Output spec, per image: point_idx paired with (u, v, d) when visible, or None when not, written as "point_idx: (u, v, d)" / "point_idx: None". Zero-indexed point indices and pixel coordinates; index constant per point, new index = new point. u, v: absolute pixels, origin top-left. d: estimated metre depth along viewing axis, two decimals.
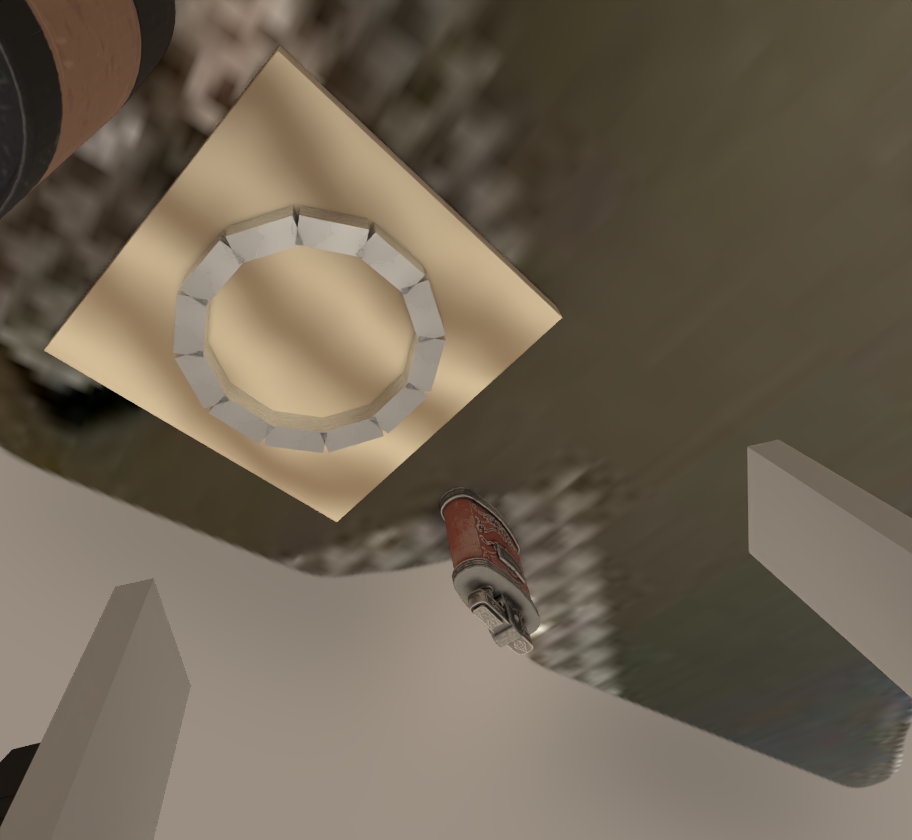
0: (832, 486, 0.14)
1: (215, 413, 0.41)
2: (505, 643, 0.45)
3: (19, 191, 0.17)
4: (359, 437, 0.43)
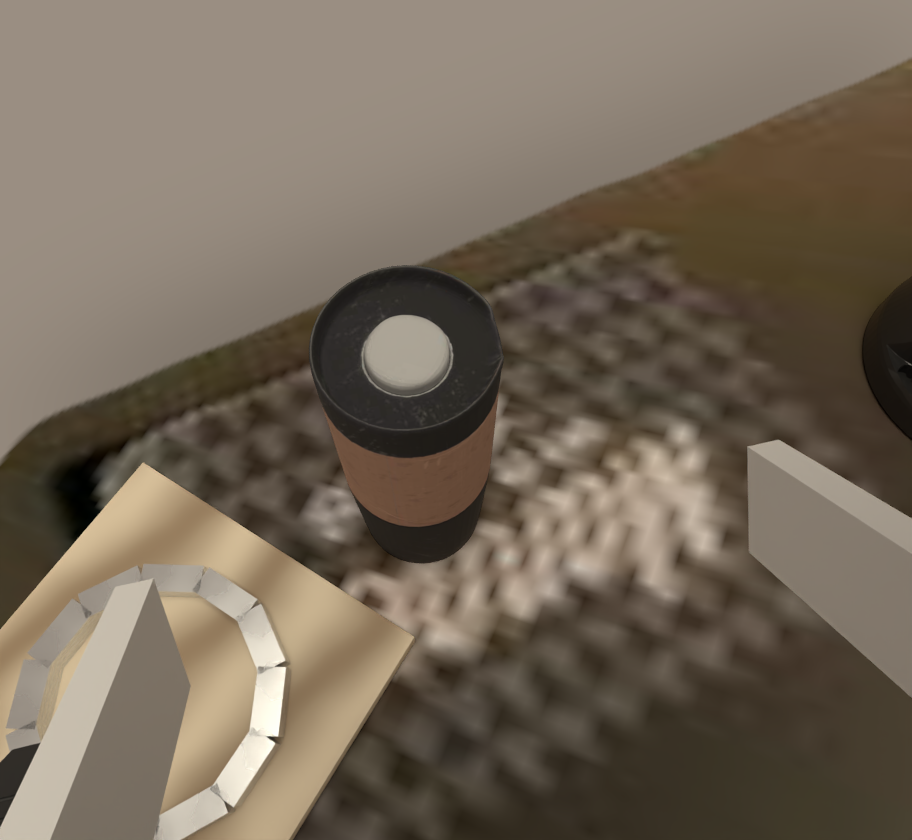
0: (832, 486, 0.14)
1: (70, 605, 0.40)
2: None
3: (358, 424, 0.27)
4: None
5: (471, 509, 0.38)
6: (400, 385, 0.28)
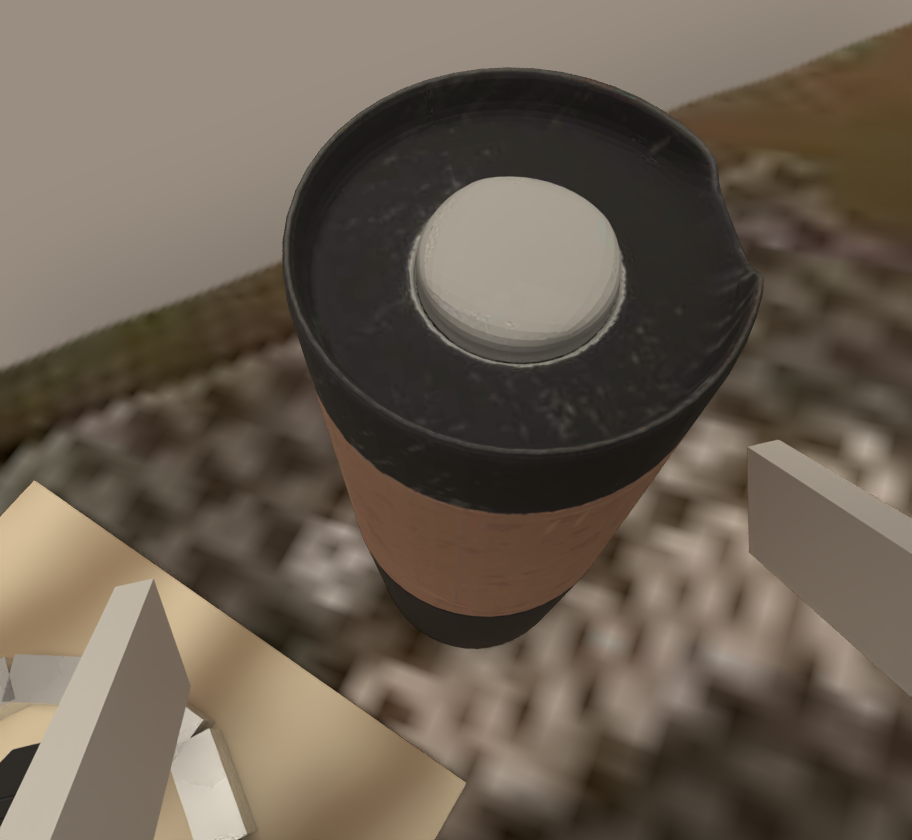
0: (832, 486, 0.14)
1: None
2: None
3: (407, 435, 0.10)
4: None
5: None
6: (509, 336, 0.11)
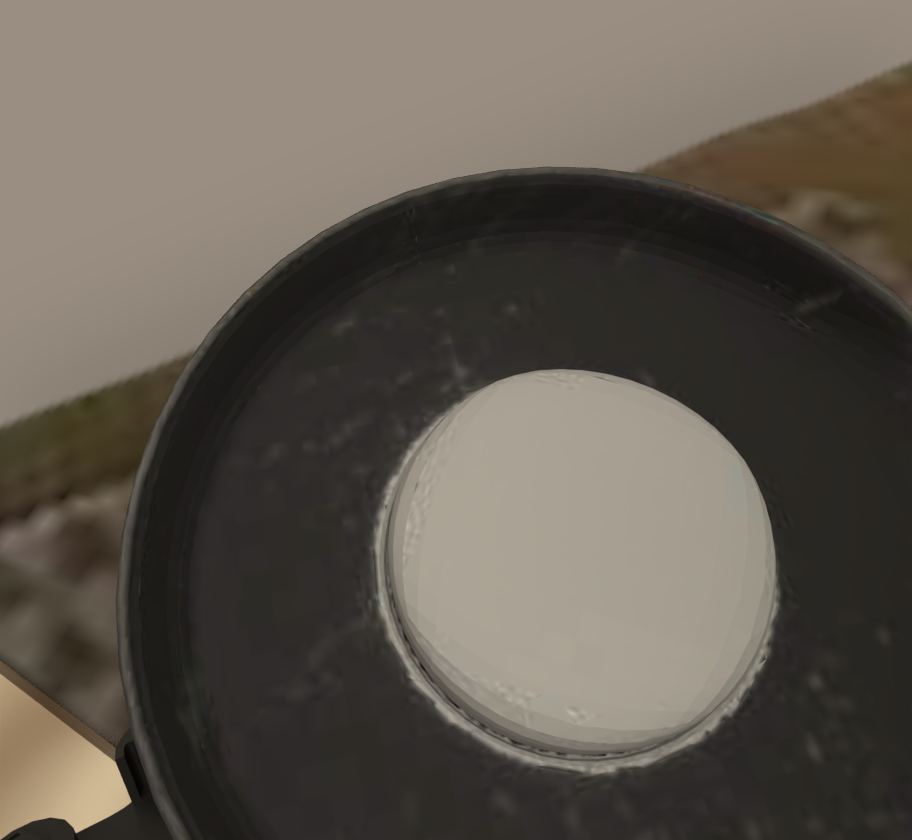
0: None
1: None
2: None
3: None
4: None
5: None
6: (574, 737, 0.05)
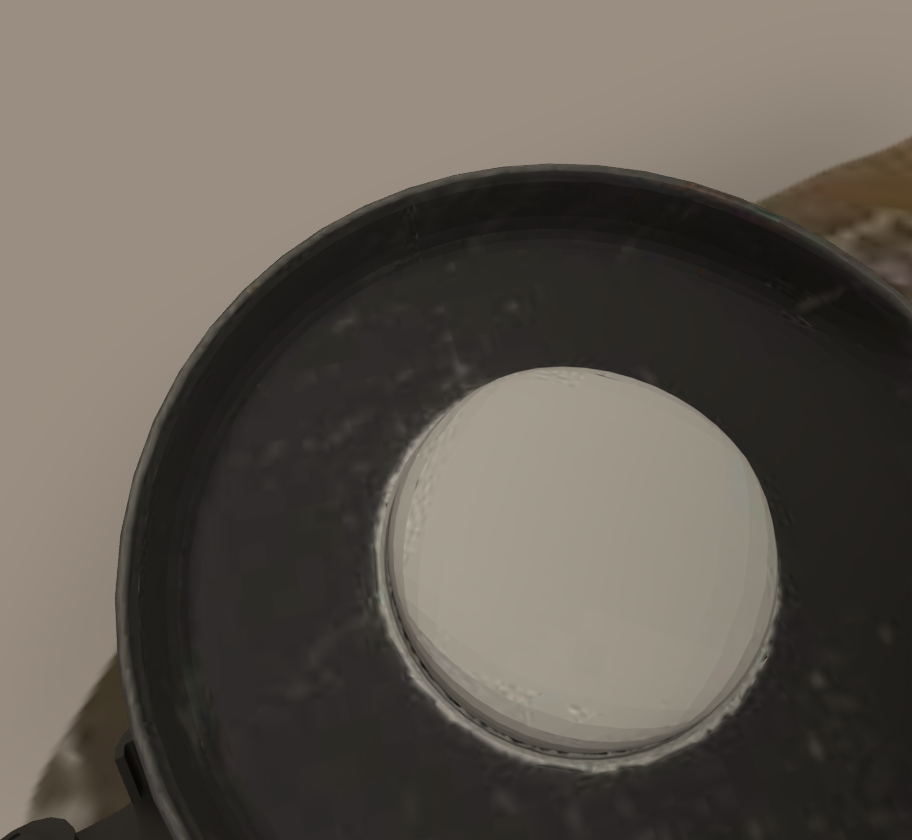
0: None
1: None
2: None
3: None
4: None
5: None
6: (574, 736, 0.05)
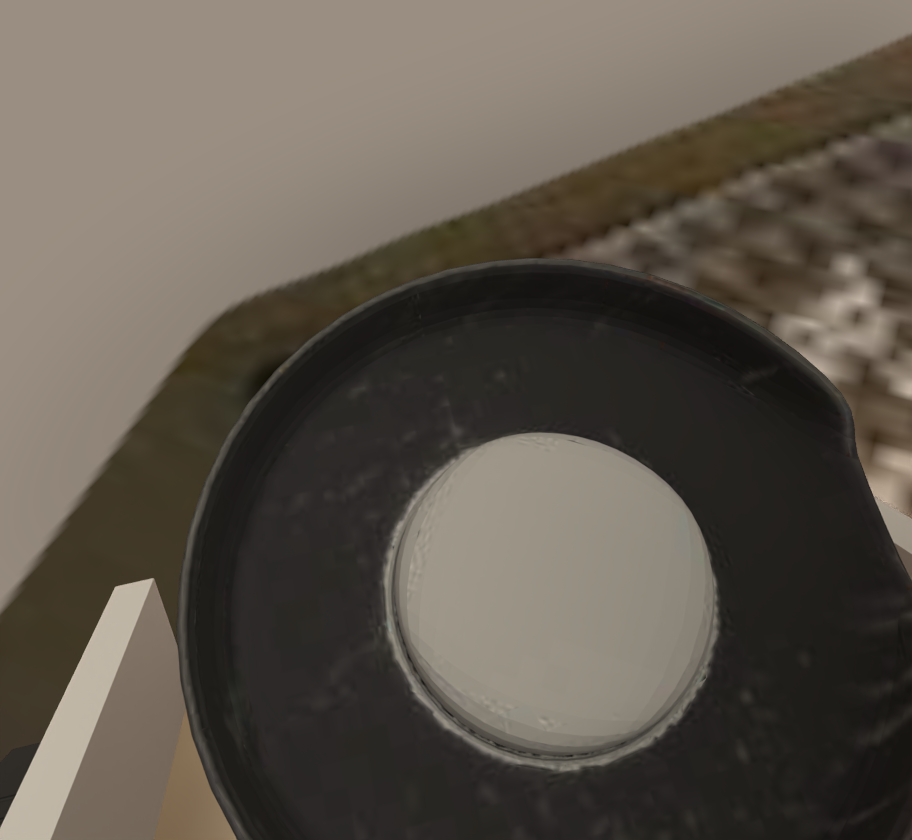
0: None
1: None
2: None
3: None
4: None
5: None
6: (544, 740, 0.07)
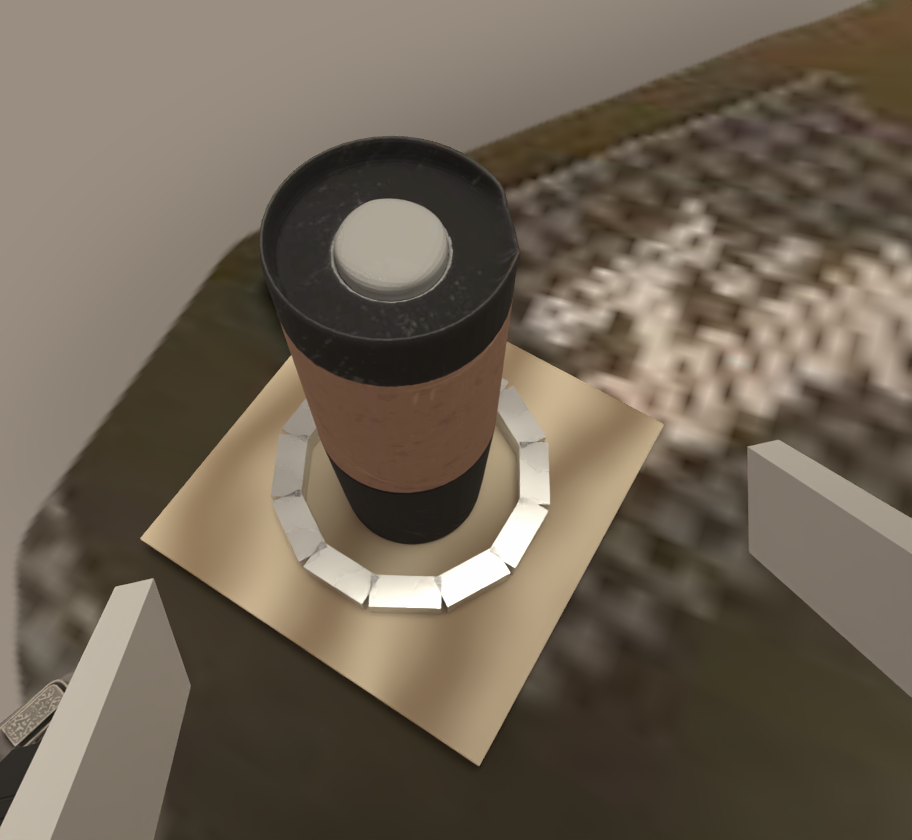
0: (832, 486, 0.14)
1: None
2: None
3: (322, 333, 0.20)
4: (294, 534, 0.36)
5: (472, 474, 0.31)
6: (381, 285, 0.21)
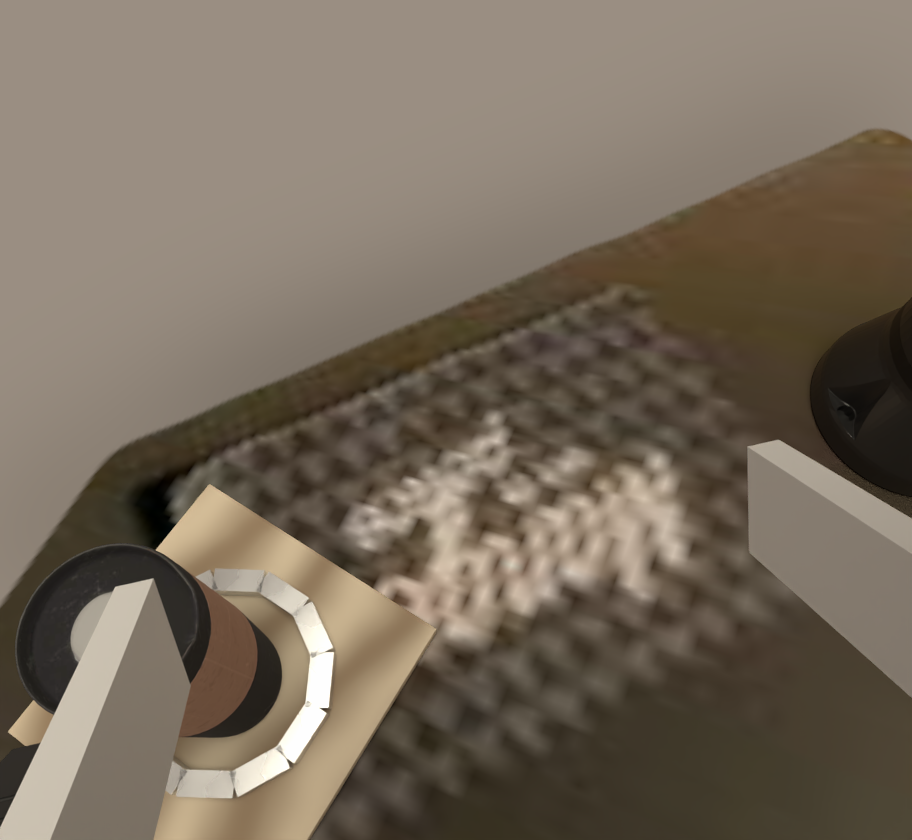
0: (832, 486, 0.14)
1: None
2: None
3: (49, 712, 0.30)
4: None
5: (238, 713, 0.41)
6: None
